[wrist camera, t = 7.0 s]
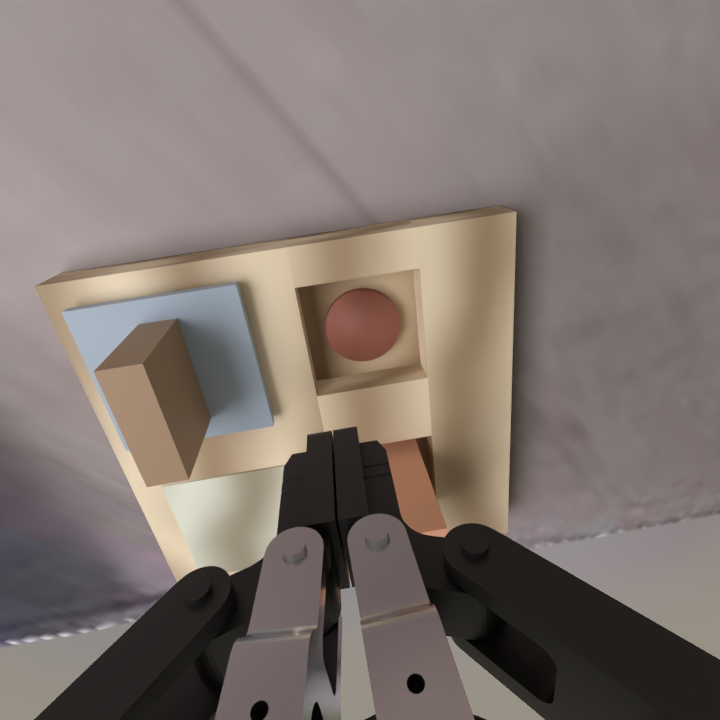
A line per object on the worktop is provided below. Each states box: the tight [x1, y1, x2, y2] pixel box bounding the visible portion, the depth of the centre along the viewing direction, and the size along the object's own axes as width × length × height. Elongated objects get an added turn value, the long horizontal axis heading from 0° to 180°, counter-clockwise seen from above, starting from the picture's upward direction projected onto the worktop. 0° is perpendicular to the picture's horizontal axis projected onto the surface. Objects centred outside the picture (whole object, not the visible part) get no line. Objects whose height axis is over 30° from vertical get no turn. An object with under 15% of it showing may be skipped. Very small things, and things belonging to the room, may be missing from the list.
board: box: [35, 206, 517, 582], centre depth 23 cm, size 20×19×2 cm
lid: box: [62, 281, 275, 487], centre depth 18 cm, size 7×7×5 cm
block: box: [381, 439, 448, 537], centre depth 23 cm, size 4×4×7 cm
